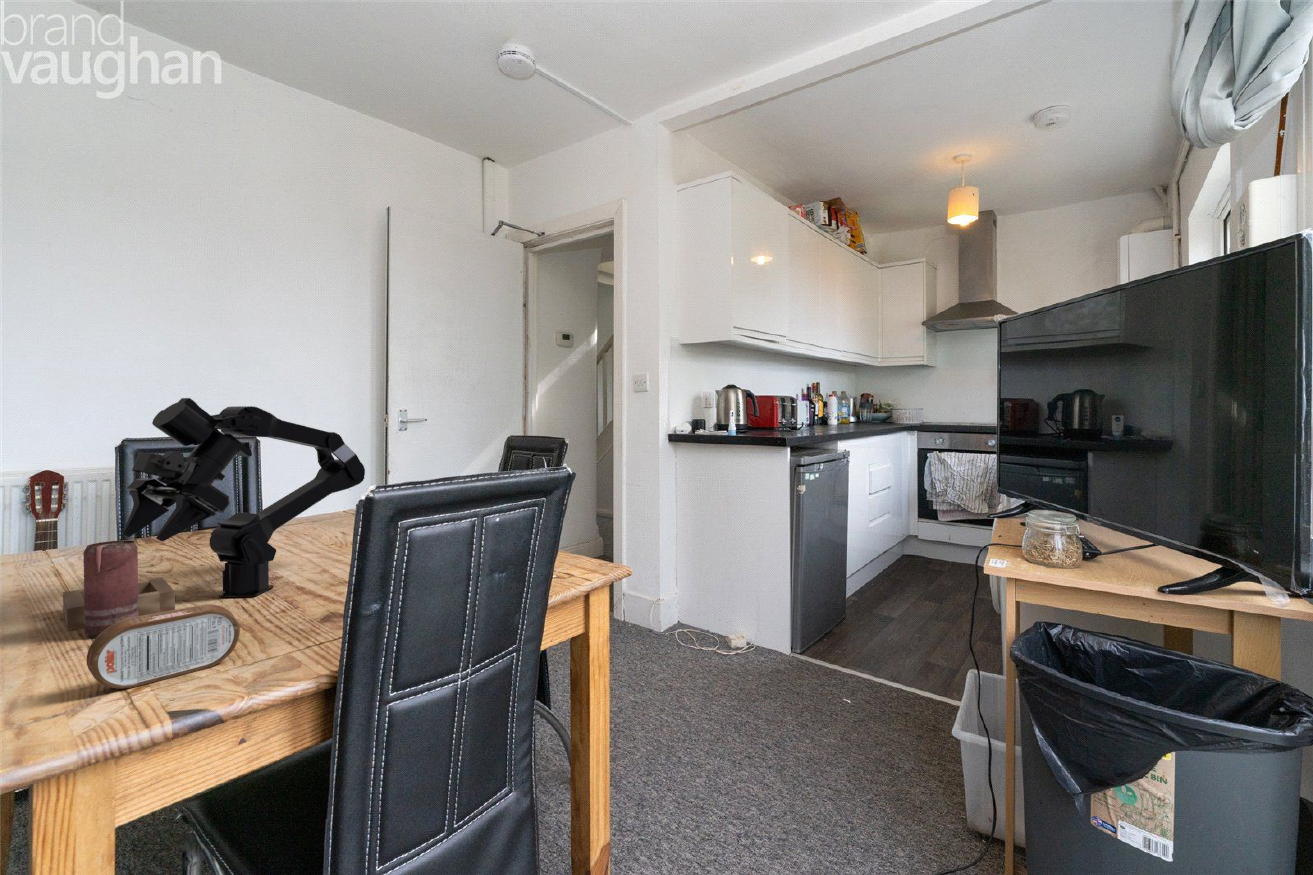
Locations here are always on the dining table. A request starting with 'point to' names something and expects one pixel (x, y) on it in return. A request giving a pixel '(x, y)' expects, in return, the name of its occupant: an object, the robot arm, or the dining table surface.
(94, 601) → the can
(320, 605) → the dining table surface
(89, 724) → the dining table surface
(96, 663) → the tin
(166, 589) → the collar
